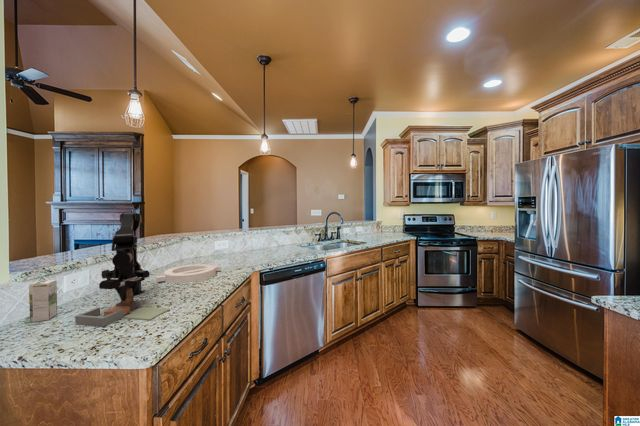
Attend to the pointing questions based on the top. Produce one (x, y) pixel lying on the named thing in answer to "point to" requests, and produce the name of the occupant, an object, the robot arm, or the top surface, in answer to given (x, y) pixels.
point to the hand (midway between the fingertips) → (127, 299)
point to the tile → (112, 310)
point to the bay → (98, 318)
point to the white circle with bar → (189, 273)
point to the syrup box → (43, 300)
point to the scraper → (129, 300)
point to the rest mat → (146, 313)
